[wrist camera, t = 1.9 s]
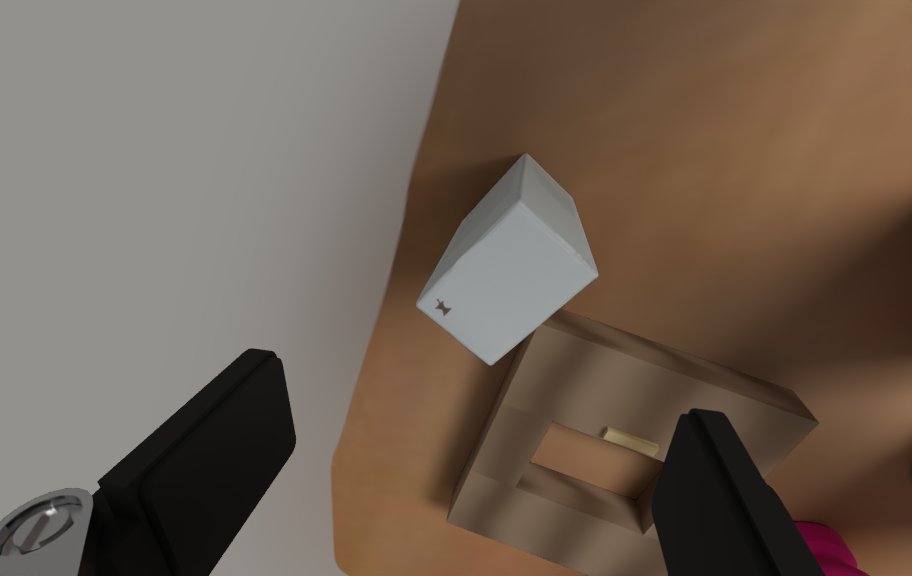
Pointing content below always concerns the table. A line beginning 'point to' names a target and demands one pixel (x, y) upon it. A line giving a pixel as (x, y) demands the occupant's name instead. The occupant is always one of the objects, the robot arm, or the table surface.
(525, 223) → the skincare box
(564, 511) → the board
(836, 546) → the pepper mill
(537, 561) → the table surface
